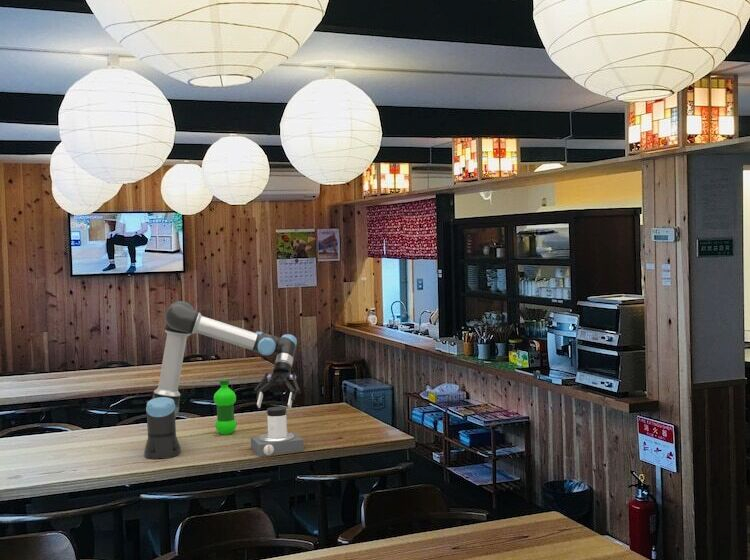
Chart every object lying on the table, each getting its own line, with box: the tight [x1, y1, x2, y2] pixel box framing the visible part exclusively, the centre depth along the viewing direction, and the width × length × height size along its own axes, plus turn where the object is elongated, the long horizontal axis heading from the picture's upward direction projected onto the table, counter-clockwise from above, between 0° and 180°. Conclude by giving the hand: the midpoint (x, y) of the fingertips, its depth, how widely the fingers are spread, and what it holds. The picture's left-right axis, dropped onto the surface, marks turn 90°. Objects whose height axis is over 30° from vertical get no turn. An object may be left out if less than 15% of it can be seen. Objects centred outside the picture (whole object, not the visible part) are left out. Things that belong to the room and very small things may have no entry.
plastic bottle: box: [213, 379, 237, 435], centre depth 381 cm, size 10×10×25 cm
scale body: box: [250, 431, 304, 458], centre depth 348 cm, size 19×17×5 cm
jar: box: [266, 406, 288, 439], centre depth 348 cm, size 9×8×12 cm
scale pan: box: [258, 432, 294, 443], centre depth 348 cm, size 15×15×1 cm
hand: (273, 406), depth 345 cm, fingers open, 13 cm apart
